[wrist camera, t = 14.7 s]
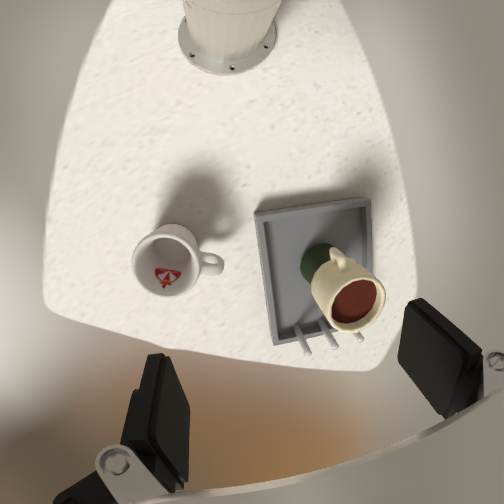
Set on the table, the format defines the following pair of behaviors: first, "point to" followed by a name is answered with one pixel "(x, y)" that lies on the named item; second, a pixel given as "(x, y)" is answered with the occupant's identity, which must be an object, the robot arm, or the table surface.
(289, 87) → the table surface
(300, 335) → the dish rack
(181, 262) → the cup
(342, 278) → the character mug
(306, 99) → the table surface
